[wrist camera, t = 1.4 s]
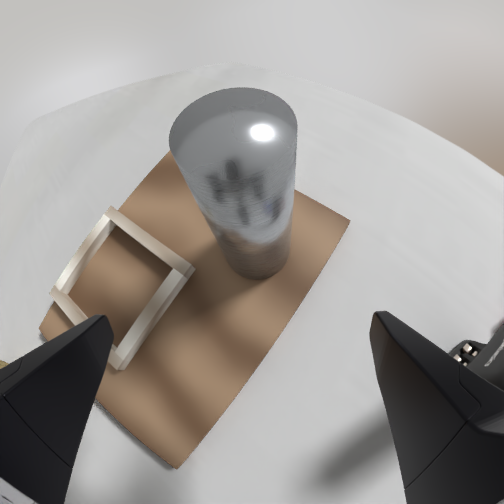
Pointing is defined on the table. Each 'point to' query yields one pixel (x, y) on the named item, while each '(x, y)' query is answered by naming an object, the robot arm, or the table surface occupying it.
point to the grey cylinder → (241, 174)
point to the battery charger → (484, 358)
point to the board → (181, 308)
